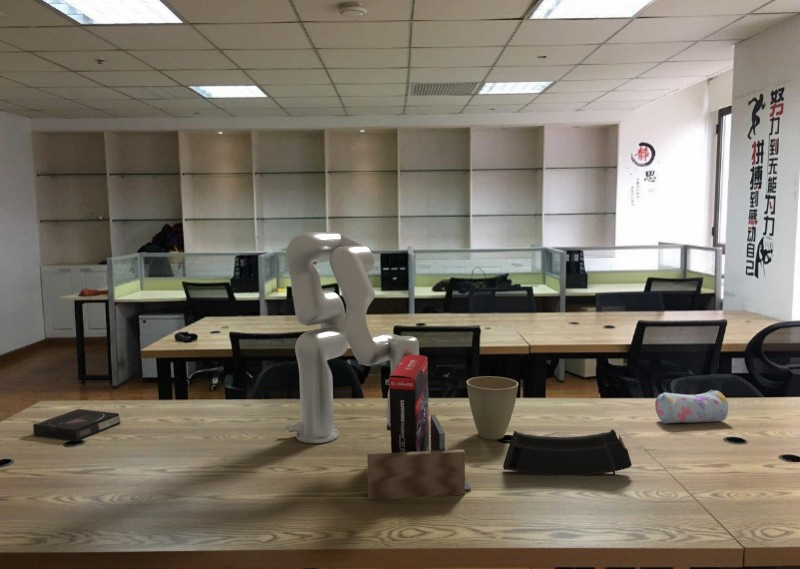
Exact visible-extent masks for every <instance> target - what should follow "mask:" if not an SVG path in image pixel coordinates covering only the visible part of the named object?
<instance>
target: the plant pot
mask: <svg viewBox="0 0 800 569" xmlns="http://www.w3.org/2000/svg"><path fill="white" fill-rule="evenodd" d="M466 389H467V396H468V402H469V407H470V410H471V415H472V419H473V422H474V425H475V429H476V431H477V434H478V437H479V438H482V439H486V440H490V441H491V440H493V441H494V440H501V439H504V437H505V436H506V433H507V430H508V428H509V425H510V422H511V419H512V416H513V412H514V408H515V404H516V400H517V395H518V390H519V382H518V381H516V380H515V379H512V378H508V377H502V376H488V375H487V376H486V375H485V376H476V377H471V378H468V379H467V380H466Z"/></svg>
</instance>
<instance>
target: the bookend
mask: <svg viewBox="0 0 800 569" xmlns="http://www.w3.org/2000/svg"><path fill="white" fill-rule="evenodd" d="M429 415H430V416H429V417H430V418H429V424H430V425H429V426H430V451H440V450H446V441H445V440H446V438H445V437H446V434H445V431H444V429H443V427H442V425H441V422H440V421H439V419H438V418H437V416H436V414H429ZM471 491H472V490H471V486H470V485H469V483H468V480H467V479H466V477H465V492H471Z"/></svg>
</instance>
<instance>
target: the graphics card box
mask: <svg viewBox="0 0 800 569" xmlns="http://www.w3.org/2000/svg"><path fill="white" fill-rule="evenodd" d="M428 365H429V364H428V356H426V355H421V354H419V355H410V354H404V356H403V357H402V358H401V360H400V361H399V363H398V364H397V366H396V367H395V368H394V370H393V371H392V372H391V371H390V374H388V379H389V385H388V386H389V388H388V392H389V391H390V427H391V431H390V447H391V448H390V450H391V452H390V453H399V452H419V451H430V428H429V426H430V425H429V424H430V418H429V417H430V416H429V415H430V414H429V372H428V368H429V367H428Z"/></svg>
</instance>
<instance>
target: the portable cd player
mask: <svg viewBox="0 0 800 569" xmlns="http://www.w3.org/2000/svg"><path fill="white" fill-rule="evenodd" d="M120 424H121V418H120V414H119V412H118V413H117V412H109V411H99V410H91V409H81V408H77V409H74V410H73V411H72V410H71V411H68V412H66V413H63V414H59V415H57V416H53V417H51V418H47V419H45V420H42V421H40V422H36V423H34V424H32V426H33V427H32V428H33V436H34V437H40V438H45V439H54V440H60V441H68V442H80V441H81V440H84V439H86V438H89V437H92V436H94V435H97V434H99V433H102V432H104V431H106V430H109V429H112V428H115V427H116V426H119V425H120Z"/></svg>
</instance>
